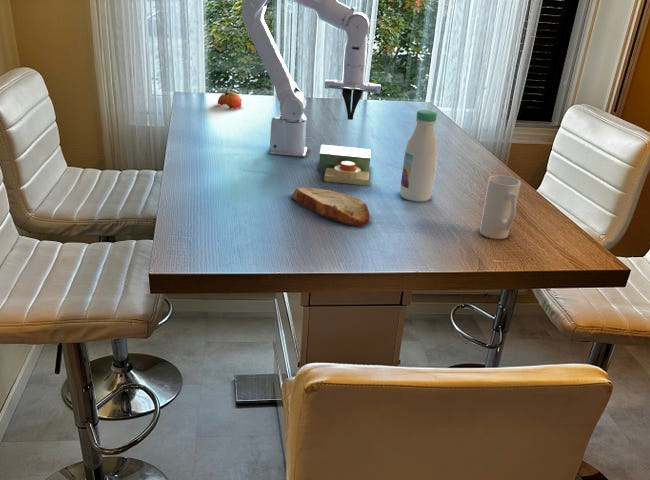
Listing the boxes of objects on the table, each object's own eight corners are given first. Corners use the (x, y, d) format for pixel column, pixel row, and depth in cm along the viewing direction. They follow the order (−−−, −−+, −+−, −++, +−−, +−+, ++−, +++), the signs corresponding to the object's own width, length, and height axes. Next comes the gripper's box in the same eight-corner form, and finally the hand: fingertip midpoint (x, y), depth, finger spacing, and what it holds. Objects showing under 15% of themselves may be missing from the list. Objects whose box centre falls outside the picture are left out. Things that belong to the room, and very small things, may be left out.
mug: (473, 227, 156) (483, 174, 149) (500, 227, 158) (512, 175, 151) (492, 246, 148) (504, 191, 141) (521, 245, 149) (533, 191, 143)
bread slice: (293, 193, 164) (294, 177, 162) (369, 200, 165) (371, 185, 163) (284, 221, 149) (285, 204, 147) (368, 229, 150) (370, 212, 148)
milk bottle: (434, 195, 172) (447, 111, 162) (426, 204, 166) (439, 118, 155) (404, 189, 174) (415, 105, 163) (395, 198, 168) (406, 112, 157)
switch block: (323, 182, 173) (324, 170, 172) (325, 173, 179) (326, 161, 178) (368, 186, 173) (369, 174, 172) (368, 177, 180) (369, 165, 178)
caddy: (368, 175, 181) (370, 159, 179) (318, 170, 181) (319, 154, 178) (368, 167, 187) (370, 152, 185) (320, 162, 187) (321, 147, 184)
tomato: (217, 97, 232) (231, 82, 228) (233, 112, 235) (247, 97, 231) (212, 106, 226) (227, 91, 222) (229, 122, 229) (243, 107, 225)
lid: (370, 160, 178) (370, 158, 178) (319, 155, 178) (319, 153, 178) (370, 151, 185) (370, 149, 184) (321, 147, 184) (321, 144, 184)
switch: (339, 171, 173) (340, 164, 172) (340, 167, 176) (341, 160, 175) (354, 173, 173) (355, 166, 172) (354, 168, 176) (355, 161, 175)
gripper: (325, 64, 176) (321, 119, 184) (382, 70, 176) (377, 125, 184) (327, 59, 182) (324, 113, 190) (382, 65, 182) (377, 118, 190)
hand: (350, 118), depth 187 cm, fingers closed
